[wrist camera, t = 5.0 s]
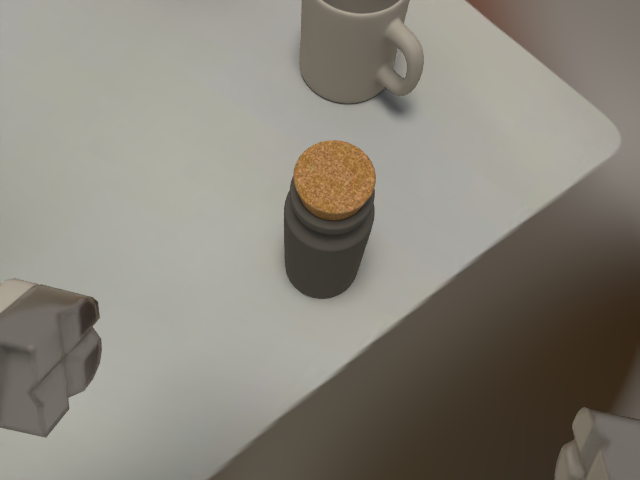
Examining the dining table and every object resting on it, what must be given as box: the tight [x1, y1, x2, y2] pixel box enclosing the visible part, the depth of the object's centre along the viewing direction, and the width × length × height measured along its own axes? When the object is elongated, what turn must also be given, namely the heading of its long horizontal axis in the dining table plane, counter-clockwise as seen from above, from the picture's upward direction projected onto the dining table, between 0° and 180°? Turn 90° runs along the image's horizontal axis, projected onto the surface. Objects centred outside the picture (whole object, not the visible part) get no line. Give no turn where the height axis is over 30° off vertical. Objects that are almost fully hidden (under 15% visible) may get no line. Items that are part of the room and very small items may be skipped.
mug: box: [300, 0, 424, 103], centre depth 50 cm, size 12×8×11 cm
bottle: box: [284, 141, 376, 298], centre depth 41 cm, size 6×6×15 cm
